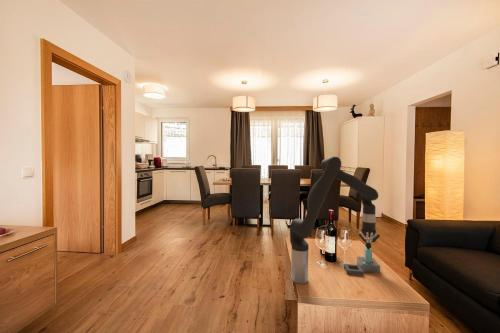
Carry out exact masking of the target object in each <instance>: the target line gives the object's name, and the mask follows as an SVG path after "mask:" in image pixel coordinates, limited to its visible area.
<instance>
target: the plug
mask: <svg viewBox="0 0 500 333" xmlns="http://www.w3.org/2000/svg"><path fill="white" fill-rule="evenodd" d="M363 251H364V252H363V253H364V254H363V257H364V262H366V263H372V258H373V249H372V247H371V248H370V249H367V248H366V247H364V249H363Z"/></svg>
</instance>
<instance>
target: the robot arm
mask: <svg viewBox="0 0 500 333" xmlns="http://www.w3.org/2000/svg"><path fill="white" fill-rule="evenodd" d="M320 168H321V171H323V173H322V175H321V176H320V178H319V179H317V181H316V182H315V183H314V184H313V185H312V187H311V189H310V190H309V192H308V195H307V201H306V202H307V211H306V214H305V217H304V219H301V218H295V219H292V221H291V222H290V225H289V240H290V241H289V242H290V244H291V245H290V246H291V262H290V264H291V265H290V272H291V273H290V280H291V281H292V282H293V283H294V284H295V283H296V284H304V285H305V284H306V283H308V282H309V244H308V242H307V241H306V240H305V239H308V238H309V237H310V235H312V232H313V230H314V227H315V223H316V220H317V218H318V216H319V213H320V211H321V209H322V206H323V204H324V203H325V201H326V198H327V196H328V193H329V191H330V189H331V186H332V184H333V182H334V181H335V179H337V180H339V181H340V182H342V183H344V184H346V186H348V187H349V188H351V189H352V190H353V191H355V192H356V193H359V194H360V200H361V204H362V217H361V224H362V226H361V230H360V232H357V235H358V236H359V238H360V239H361V241H363V242H364V243H365V248H367V249H370V248H371V249H372V243H375V242H376V241H377V240H378V239H379V238H380V236H381V235H380V233H378V232H377V230H376V226H377V224H376V222H377V217H376V205H375V204H373V202H372V201H377V200H378V198H379V192H378V191H377V190H376V189H375V188H374V187H372V186H370V185H368V184H366V183H365V182H363V181H362V180H361V179H359V178H358V177H357V176H355V175H353V174H350V173H348V172H346V171H344V170H341V168H342V161H341V159H340V158H339V157H338V156H330V157H327V158H324V159H323V160H322V161H321V163H320ZM363 236H364V237H363Z"/></svg>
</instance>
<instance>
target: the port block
mask: <svg viewBox="0 0 500 333" xmlns="http://www.w3.org/2000/svg"><path fill="white" fill-rule="evenodd" d="M356 265H360V267H361V268H362V270H363V271H364V273H370V274H381V265H380V263H378V262H377V260H376V259H375V258H374V257H372V263H366V262H364V256H357V257H356Z"/></svg>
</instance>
